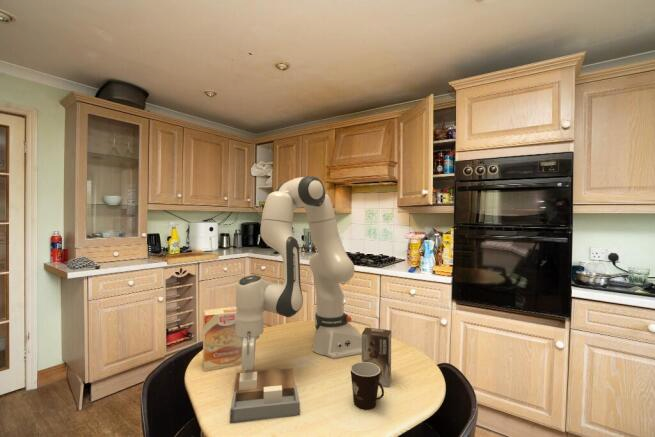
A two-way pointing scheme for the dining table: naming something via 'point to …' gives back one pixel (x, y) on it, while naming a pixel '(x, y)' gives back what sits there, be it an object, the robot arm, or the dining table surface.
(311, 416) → the dining table surface
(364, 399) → the coffee mug
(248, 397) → the board
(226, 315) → the coffeecake box
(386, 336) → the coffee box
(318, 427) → the dining table surface
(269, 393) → the tile
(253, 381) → the tile
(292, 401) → the tray
